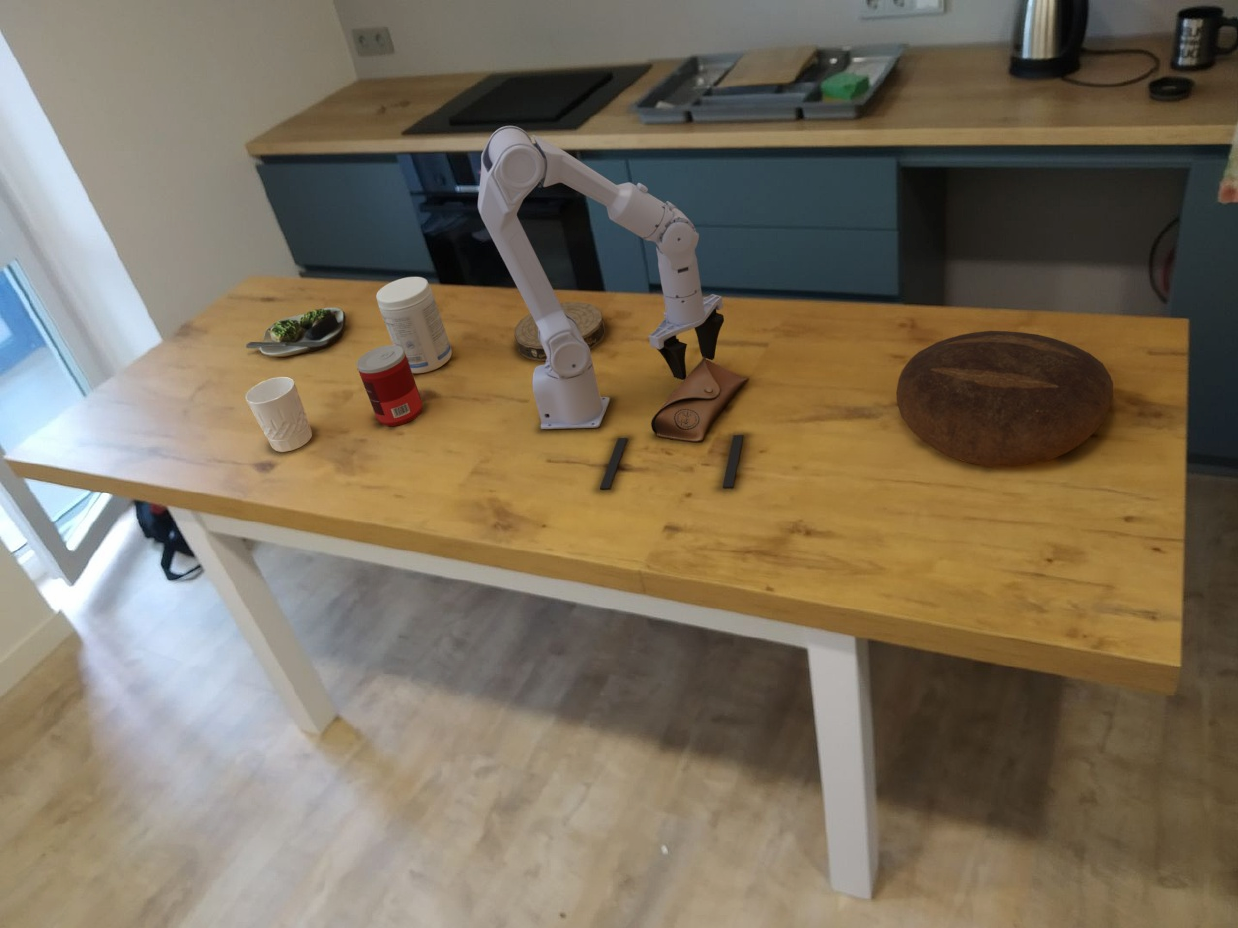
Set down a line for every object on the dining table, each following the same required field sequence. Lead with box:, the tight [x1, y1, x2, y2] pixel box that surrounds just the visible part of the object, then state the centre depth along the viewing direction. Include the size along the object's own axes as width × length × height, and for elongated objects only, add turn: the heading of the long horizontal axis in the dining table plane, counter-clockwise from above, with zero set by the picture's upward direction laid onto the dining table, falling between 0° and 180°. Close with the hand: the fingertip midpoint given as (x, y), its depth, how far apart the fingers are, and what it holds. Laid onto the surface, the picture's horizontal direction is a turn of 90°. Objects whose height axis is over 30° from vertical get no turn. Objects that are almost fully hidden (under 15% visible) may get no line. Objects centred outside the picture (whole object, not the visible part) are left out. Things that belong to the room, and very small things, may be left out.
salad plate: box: [245, 306, 346, 357], centre depth 194 cm, size 19×18×5 cm
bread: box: [896, 330, 1114, 467], centre depth 133 cm, size 28×27×9 cm
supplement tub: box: [375, 276, 453, 374], centre depth 174 cm, size 10×10×15 cm
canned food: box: [356, 344, 423, 427], centre depth 161 cm, size 8×8×11 cm
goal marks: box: [599, 434, 744, 490], centre depth 139 cm, size 19×12×1 cm, turn 78°
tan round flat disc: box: [513, 301, 606, 362], centre depth 175 cm, size 16×16×3 cm
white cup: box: [244, 376, 313, 453], centre depth 161 cm, size 8×8×10 cm
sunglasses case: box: [650, 357, 750, 442], centre depth 149 cm, size 18×7×7 cm
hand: (694, 367), depth 154 cm, fingers open, 6 cm apart
